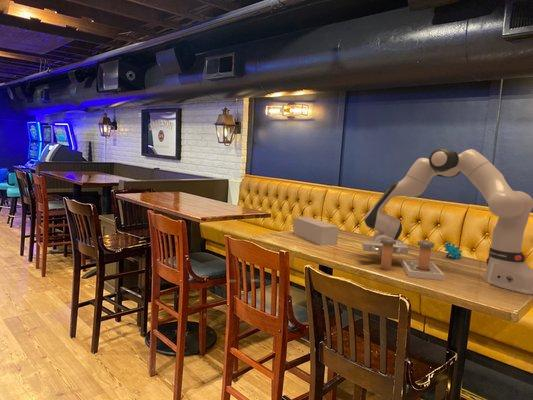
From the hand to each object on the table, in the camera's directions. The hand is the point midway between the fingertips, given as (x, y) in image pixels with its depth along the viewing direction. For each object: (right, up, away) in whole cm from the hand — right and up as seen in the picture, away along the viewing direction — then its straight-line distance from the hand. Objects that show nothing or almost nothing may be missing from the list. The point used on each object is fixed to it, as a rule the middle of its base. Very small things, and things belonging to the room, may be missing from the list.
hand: (387, 251), depth 180 cm
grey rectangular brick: (-26, -1, +59) cm, 64 cm away
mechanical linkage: (+59, -11, +12) cm, 61 cm away
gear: (+44, -8, +32) cm, 55 cm away
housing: (+14, -10, -3) cm, 17 cm away
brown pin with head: (-1, -8, 0) cm, 8 cm away
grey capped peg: (+13, -9, -7) cm, 17 cm away
